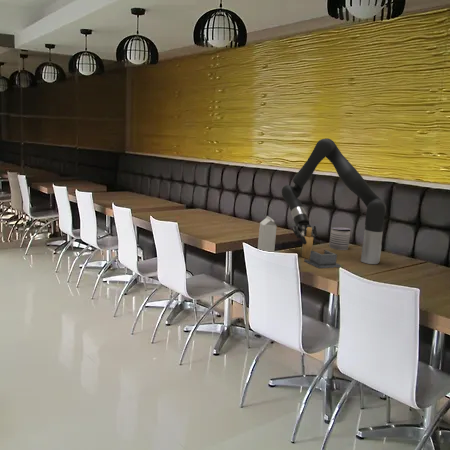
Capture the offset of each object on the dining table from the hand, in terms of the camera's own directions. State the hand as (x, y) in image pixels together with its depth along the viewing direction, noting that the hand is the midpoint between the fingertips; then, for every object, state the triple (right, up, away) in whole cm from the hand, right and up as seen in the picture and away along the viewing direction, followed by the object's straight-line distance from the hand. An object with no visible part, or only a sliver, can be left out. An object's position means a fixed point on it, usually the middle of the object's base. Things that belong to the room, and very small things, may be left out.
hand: (309, 243), depth 276 cm
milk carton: (-23, -5, +8) cm, 24 cm away
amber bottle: (-1, -7, +3) cm, 8 cm away
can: (+22, -4, +33) cm, 40 cm away
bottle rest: (+5, -10, -10) cm, 15 cm away
